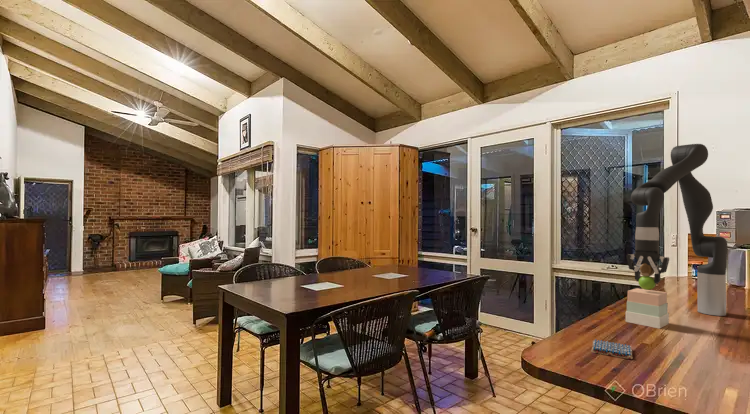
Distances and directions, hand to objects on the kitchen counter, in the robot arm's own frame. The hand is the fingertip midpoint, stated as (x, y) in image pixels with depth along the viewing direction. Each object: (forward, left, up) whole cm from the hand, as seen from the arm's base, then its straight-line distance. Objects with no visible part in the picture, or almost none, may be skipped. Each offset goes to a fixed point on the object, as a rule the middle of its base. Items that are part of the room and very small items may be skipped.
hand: (647, 282), depth 147 cm
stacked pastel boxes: (0, 0, -16) cm, 16 cm away
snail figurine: (0, 0, -3) cm, 3 cm away
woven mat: (+47, +4, -16) cm, 50 cm away
